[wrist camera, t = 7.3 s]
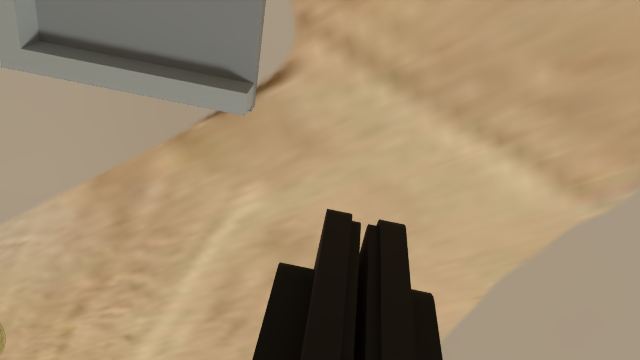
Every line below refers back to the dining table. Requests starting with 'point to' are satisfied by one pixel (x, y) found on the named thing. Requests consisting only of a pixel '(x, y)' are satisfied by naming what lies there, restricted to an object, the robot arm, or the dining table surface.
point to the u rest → (141, 46)
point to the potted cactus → (2, 339)
